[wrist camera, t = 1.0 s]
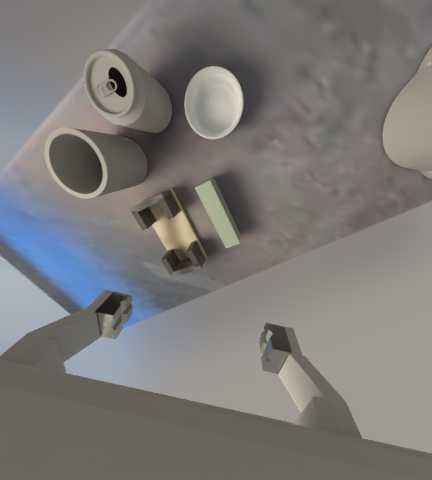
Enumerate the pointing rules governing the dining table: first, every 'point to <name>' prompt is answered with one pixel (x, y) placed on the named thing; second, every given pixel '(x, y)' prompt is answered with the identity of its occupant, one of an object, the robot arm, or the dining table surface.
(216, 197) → the slat
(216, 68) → the ramekin
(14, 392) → the robot arm
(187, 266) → the grey and cream cradle
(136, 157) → the cup
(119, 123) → the can
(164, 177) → the dining table surface
